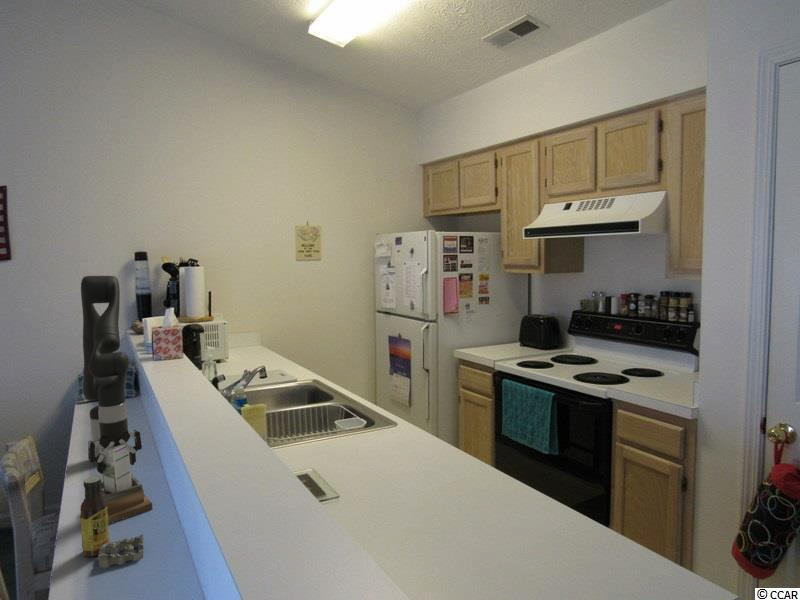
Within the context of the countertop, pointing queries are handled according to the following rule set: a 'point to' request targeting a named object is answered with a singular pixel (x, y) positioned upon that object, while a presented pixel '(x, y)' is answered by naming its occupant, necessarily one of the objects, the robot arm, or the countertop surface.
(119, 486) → the syrup box
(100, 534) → the sauce bottle
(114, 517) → the stand
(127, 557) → the egg carton
